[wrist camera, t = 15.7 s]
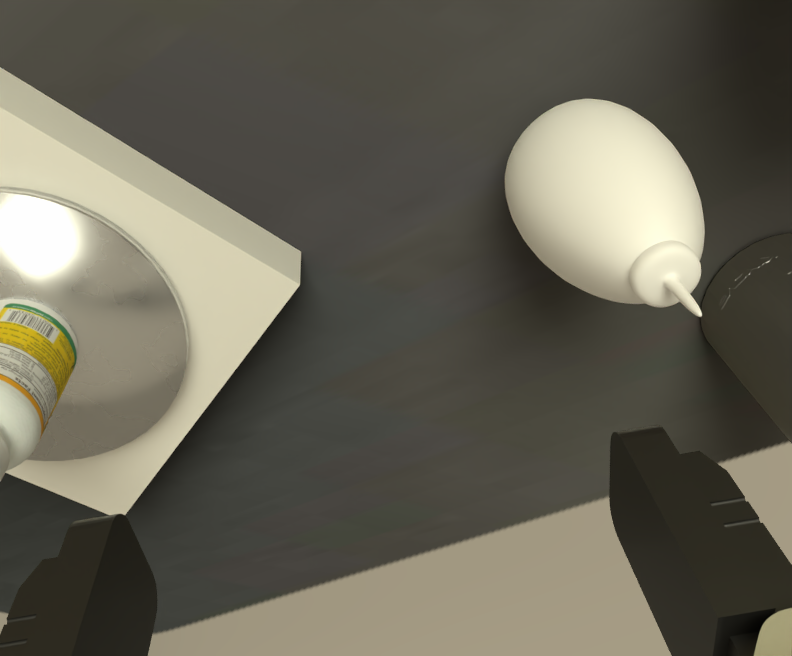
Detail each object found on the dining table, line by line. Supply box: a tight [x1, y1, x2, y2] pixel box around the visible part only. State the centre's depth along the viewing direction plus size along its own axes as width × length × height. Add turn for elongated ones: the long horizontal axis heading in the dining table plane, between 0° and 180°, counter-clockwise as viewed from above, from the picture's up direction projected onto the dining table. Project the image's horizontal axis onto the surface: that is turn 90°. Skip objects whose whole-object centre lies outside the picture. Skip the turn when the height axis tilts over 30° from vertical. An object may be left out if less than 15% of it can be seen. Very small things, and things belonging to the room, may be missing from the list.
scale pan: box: [0, 186, 189, 461], centre depth 39 cm, size 16×16×1 cm
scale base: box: [0, 67, 301, 515], centre depth 41 cm, size 20×21×4 cm
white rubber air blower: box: [505, 99, 705, 317], centre depth 33 cm, size 8×8×18 cm
